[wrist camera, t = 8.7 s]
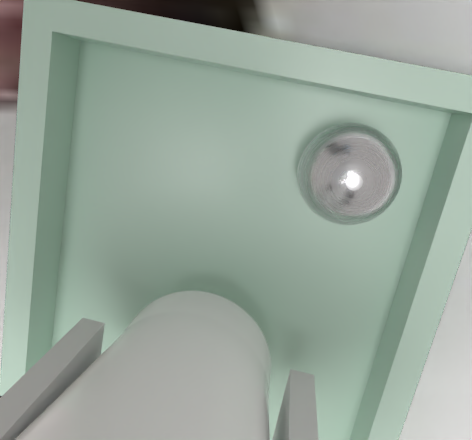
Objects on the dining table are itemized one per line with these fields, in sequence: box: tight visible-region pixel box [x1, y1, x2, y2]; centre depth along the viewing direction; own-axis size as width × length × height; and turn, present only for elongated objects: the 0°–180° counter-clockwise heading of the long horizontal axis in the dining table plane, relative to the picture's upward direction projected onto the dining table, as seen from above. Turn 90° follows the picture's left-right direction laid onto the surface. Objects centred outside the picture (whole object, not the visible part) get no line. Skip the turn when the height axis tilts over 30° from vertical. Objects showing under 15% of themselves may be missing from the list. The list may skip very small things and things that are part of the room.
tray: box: [0, 0, 472, 440], centre depth 17 cm, size 18×15×2 cm
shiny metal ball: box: [297, 123, 402, 225], centre depth 14 cm, size 3×3×3 cm
